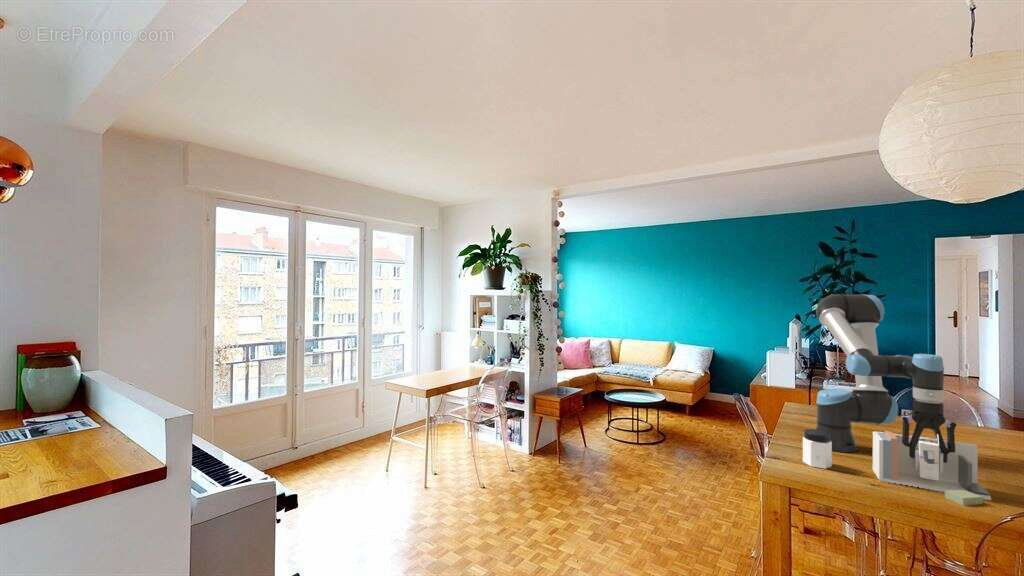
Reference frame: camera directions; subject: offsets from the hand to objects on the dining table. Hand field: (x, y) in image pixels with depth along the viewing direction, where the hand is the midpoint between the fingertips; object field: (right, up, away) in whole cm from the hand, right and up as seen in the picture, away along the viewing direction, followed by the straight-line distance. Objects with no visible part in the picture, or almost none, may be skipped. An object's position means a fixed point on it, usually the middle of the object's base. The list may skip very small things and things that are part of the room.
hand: (927, 469), depth 147 cm
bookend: (+9, -4, -6) cm, 12 cm away
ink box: (0, -2, 0) cm, 2 cm away
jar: (-25, -5, +17) cm, 31 cm away
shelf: (0, -5, +1) cm, 5 cm away
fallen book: (0, -5, -11) cm, 12 cm away
